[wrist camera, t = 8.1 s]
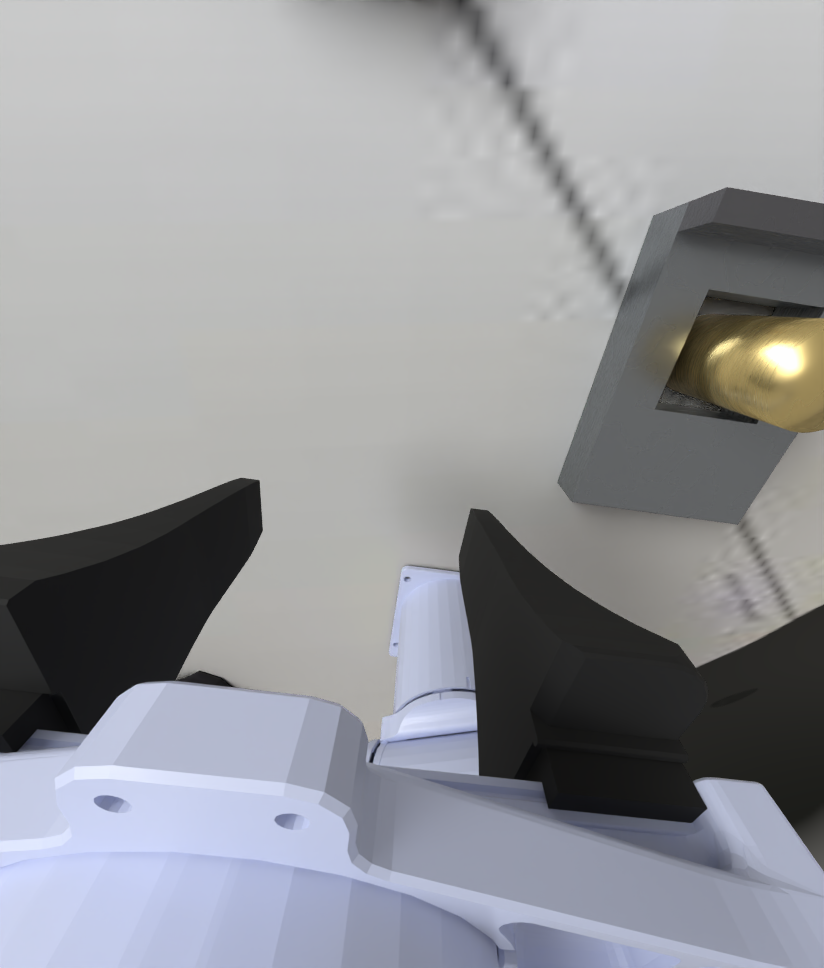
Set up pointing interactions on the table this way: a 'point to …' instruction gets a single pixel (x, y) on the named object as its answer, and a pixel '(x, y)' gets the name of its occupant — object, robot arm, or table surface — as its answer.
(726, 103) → the table surface
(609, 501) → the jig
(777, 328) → the brass cylinder
